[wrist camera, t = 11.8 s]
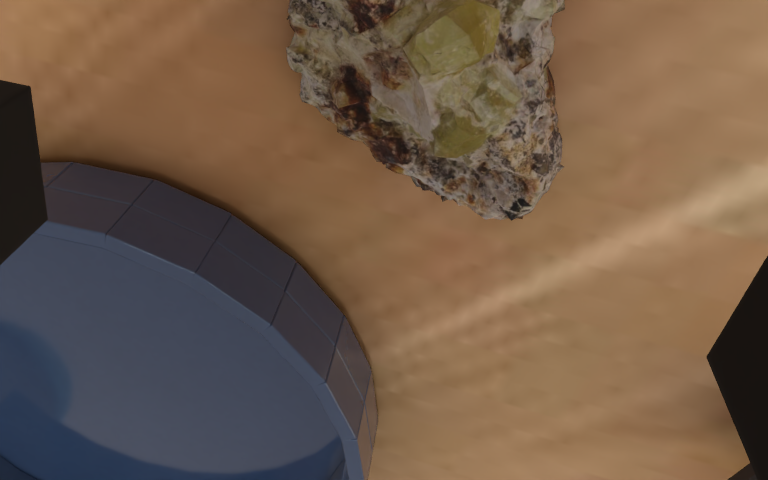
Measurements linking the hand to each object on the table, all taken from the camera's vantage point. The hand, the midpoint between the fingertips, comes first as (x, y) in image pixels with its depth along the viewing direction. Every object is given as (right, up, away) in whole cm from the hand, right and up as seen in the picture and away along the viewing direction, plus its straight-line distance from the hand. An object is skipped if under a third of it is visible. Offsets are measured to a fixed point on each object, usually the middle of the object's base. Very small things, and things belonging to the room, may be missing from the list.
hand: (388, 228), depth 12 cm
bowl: (-11, -6, +17) cm, 22 cm away
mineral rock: (+2, +5, +8) cm, 10 cm away
